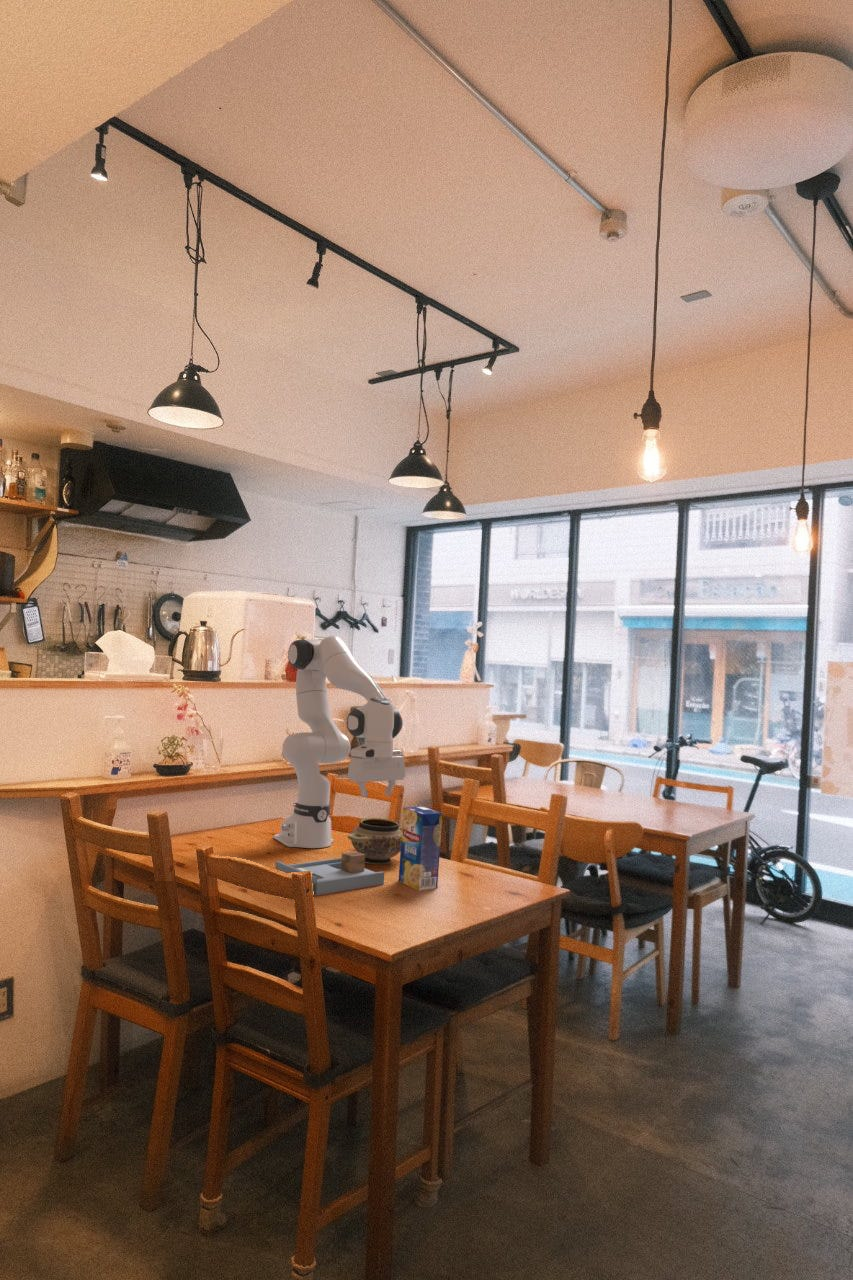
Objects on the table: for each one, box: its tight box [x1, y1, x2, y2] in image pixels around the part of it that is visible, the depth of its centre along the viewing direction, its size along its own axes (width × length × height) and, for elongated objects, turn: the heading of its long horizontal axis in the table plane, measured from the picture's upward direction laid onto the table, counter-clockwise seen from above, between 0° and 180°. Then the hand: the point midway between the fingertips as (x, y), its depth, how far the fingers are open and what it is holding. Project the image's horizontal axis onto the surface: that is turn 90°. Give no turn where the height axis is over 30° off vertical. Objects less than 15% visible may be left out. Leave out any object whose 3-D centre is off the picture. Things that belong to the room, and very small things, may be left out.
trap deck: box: [274, 857, 385, 897], centre depth 244 cm, size 20×25×5 cm
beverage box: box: [398, 806, 443, 891], centre depth 248 cm, size 7×11×22 cm, turn 34°
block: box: [341, 850, 366, 873], centre depth 249 cm, size 5×5×5 cm
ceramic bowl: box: [347, 817, 402, 865], centre depth 272 cm, size 24×18×15 cm
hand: (376, 795), depth 256 cm, fingers open, 8 cm apart
